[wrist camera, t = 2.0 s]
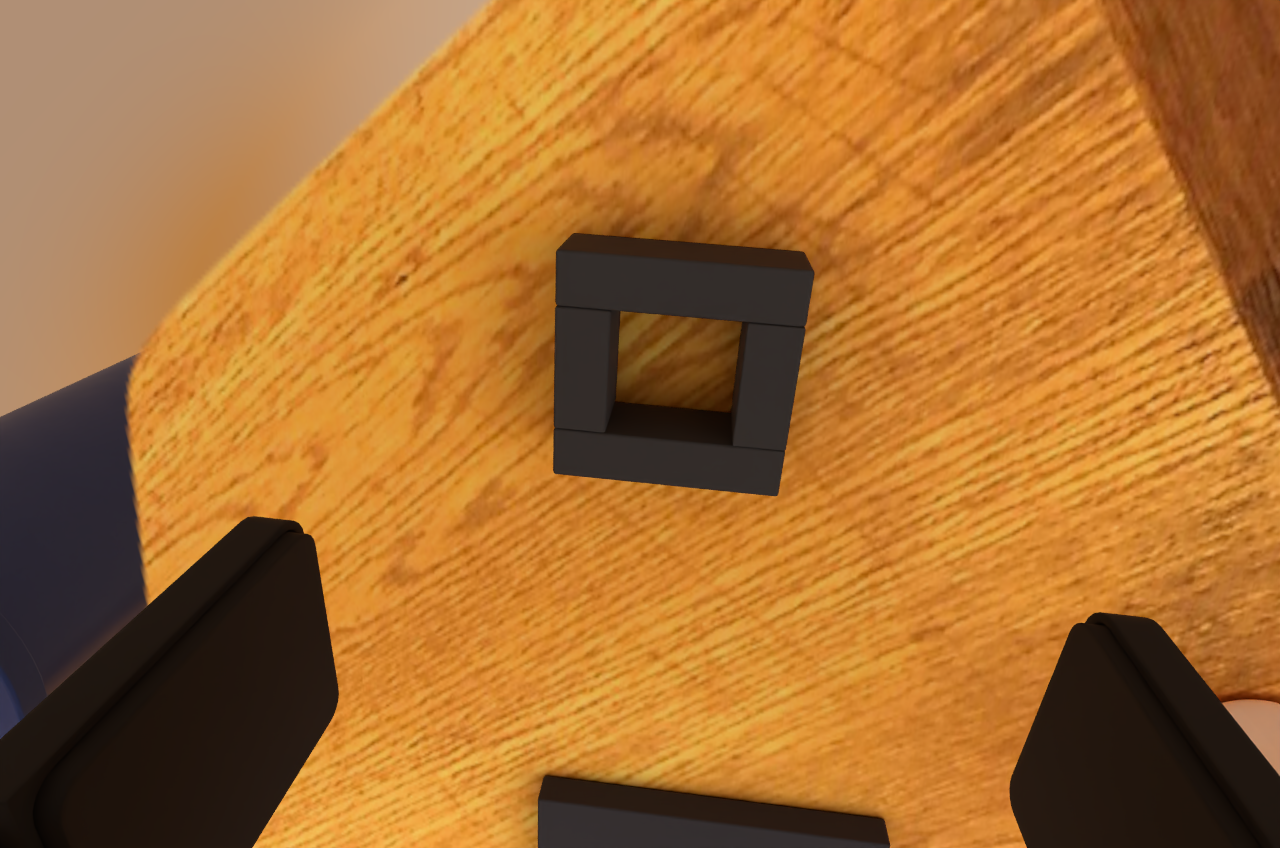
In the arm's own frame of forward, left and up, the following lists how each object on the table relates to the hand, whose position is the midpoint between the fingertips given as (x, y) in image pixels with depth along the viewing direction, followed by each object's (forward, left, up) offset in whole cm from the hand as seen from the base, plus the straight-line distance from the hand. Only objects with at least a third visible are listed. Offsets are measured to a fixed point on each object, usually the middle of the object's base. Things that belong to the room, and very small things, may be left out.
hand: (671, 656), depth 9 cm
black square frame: (-1, -1, -14) cm, 14 cm away
